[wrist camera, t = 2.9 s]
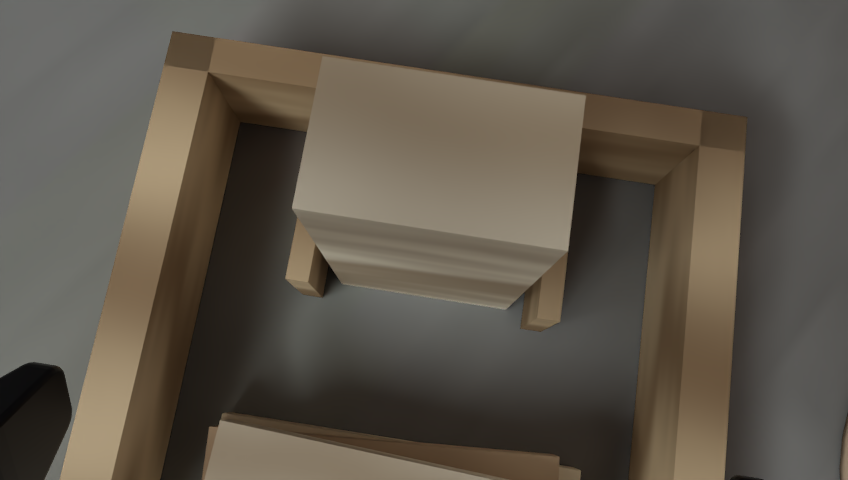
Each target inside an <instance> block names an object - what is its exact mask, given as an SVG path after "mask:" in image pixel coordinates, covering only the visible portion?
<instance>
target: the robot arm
mask: <svg viewBox="0 0 848 480" xmlns="http://www.w3.org/2000/svg"><path fill="white" fill-rule="evenodd" d="M71 416H72V407H71V402H70V397H69V393H68V388H67V384H66V379H65V375H64V372H63V370H62V369H61V368H60V367H58V366H55V365H49V364H43V363H36V362H31V363H27V364H24V365H22V366H20V367H19V368H17V369H15V370H13V371H12V372H10V373H8V374H6V375H4V376H3V377H1V378H0V480H44V479H45V477H46V475H47V473H48V471H49V468H50V466H51V464H52V462H53V460H54V457H55V455H56V453H57V451H58V449H59V447H60V444H61V442H62V440H63V438H64V436H65V433H66V431H67V429H68V427H69V424H70V421H71ZM730 480H763V479H759V478H753V477H747V476H740V475H736V476H734V477H732V478H731V479H730Z"/></svg>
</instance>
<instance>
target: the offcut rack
mask: <svg viewBox="0 0 848 480" xmlns="http://www.w3.org/2000/svg"><path fill="white" fill-rule="evenodd" d="M322 56H325V57H332V58H339V59H345V60H352V61H359V62H365V63H372V64H379V65H385V66H392V67H399V68H406V69H412V70H419V71H426V72H432V73H439V74H446V75H452V76H459V77H466V78H472V79H479V80H486V81H493V82H499V83H506V84H513V85H519V86H526V87H533V88H539V89H546V90H553V91H559V92H566V93H573V94H580V95H586V99H585V108H584V117H583V125H582V134H581V143H580V151H579V160H578V169H577V173H581V174H587V175H594V176H601V177H607V178H614V179H620V180H627V181H634V182H640V183H647V184H653V185H655V190H654V202H653V213H652V224H651V235H650V246H649V257H648V268H647V279H646V290H645V301H644V312H643V323H642V334H641V345H640V356H639V368H638V379H637V390H636V401H635V412H634V423H633V434H632V445H631V456H630V467H629V478H628V480H724V478H725V462H726V446H727V430H728V414H729V398H730V383H731V367H732V351H733V335H734V319H735V303H736V287H737V272H738V256H739V240H740V224H741V208H742V192H743V177H744V161H745V145H746V129H747V117H744V116H737V115H730V114H723V113H717V112H710V111H703V110H697V109H690V108H683V107H676V106H670V105H663V104H656V103H650V102H643V101H636V100H630V99H623V98H616V97H609V96H603V95H596V94H589V93H583V92H576V91H569V90H562V89H556V88H549V87H542V86H536V85H529V84H522V83H516V82H509V81H502V80H495V79H489V78H482V77H475V76H469V75H462V74H455V73H449V72H442V71H435V70H428V69H422V68H415V67H408V66H402V65H395V64H388V63H381V62H375V61H368V60H361V59H355V58H348V57H341V56H335V55H328V54H321V53H314V52H308V51H301V50H294V49H288V48H281V47H274V46H267V45H261V44H254V43H247V42H241V41H234V40H227V39H221V38H214V37H207V36H200V35H194V34H187V33H180V32H174V31H172V35H171V39H170V43H169V47H168V51H167V55H166V59H165V63H164V67H163V71H162V75H161V79H160V83H159V87H158V91H157V95H156V99H155V103H154V107H153V111H152V115H151V119H150V123H149V127H148V131H147V135H146V139H145V143H144V147H143V151H142V155H141V158H140V162H139V166H138V170H137V174H136V178H135V182H134V186H133V190H132V194H131V198H130V202H129V206H128V210H127V214H126V218H125V222H124V226H123V230H122V234H121V238H120V242H119V246H118V250H117V254H116V258H115V262H114V266H113V270H112V274H111V278H110V282H109V285H108V289H107V293H106V297H105V301H104V305H103V309H102V313H101V317H100V321H99V325H98V329H97V333H96V337H95V341H94V345H93V349H92V353H91V357H90V361H89V365H88V369H87V373H86V377H85V381H84V385H83V389H82V393H81V397H80V401H79V405H78V409H77V413H76V416H75V420H74V424H73V428H72V432H71V436H70V440H69V444H68V448H67V452H66V456H65V460H64V464H63V468H62V472H61V476H60V480H160V479H161V474H162V470H163V465H164V461H165V457H166V452H167V448H168V443H169V439H170V434H171V430H172V425H173V421H174V416H175V412H176V407H177V403H178V398H179V394H180V389H181V385H182V380H183V376H184V371H185V367H186V362H187V358H188V354H189V349H190V345H191V340H192V336H193V331H194V327H195V322H196V318H197V313H198V309H199V304H200V300H201V295H202V291H203V286H204V282H205V277H206V273H207V268H208V264H209V259H210V255H211V251H212V246H213V242H214V237H215V233H216V228H217V224H218V219H219V215H220V210H221V206H222V201H223V197H224V192H225V188H226V183H227V179H228V174H229V170H230V165H231V161H232V156H233V152H234V148H235V143H236V139H237V134H238V130H239V125H240V122H245V123H251V124H258V125H264V126H271V127H278V128H284V129H291V130H297V131H304V132H307V130H308V125H309V120H310V115H311V111H312V106H313V101H314V96H315V91H316V86H317V81H318V76H319V71H320V66H321V61H322ZM576 179H577V178H576ZM575 188H576V186H575ZM574 197H575V195H574ZM573 206H574V204H573ZM572 214H573V212H572ZM571 223H572V221H571ZM570 232H571V230H570ZM569 240H570V238H569ZM568 249H569V247H568ZM567 258H568V251H567V252H566V253H565V254H564V255H563V256H562V257H561V258H560V259H559V260H558V261H557V262H556V263H555V264H554V265H553V266H552V267H551V268H549V269H548V270H547V271H546V272H545V273H544V274H543V275H542V276H541V277H540V278H539V279H538V280H537V281H536V282H535V283H534V284H533V285H531V286H530V287H529V288H528V289H527V290H526V291H525V297H524V305H523V312H522V320H521V328H520V329H526V330H533V331H539V332H541V331H543V330H545V329H547V328H549V327H551V326H553V325H555V324H557V323H558V322H560V319H561V310H562V301H563V293H564V284H565V275H566V266H567ZM328 266H329V264H328V262H327V261H326V259H325V258H324V256H323V255H322V253H321V252H320V250H319V249H318V247H317V245H316V244H315V242H314V241H313V239H312V238H311V236H310V235H309V233H308V232H307V230H306V229H305V227H304V226H303V224H302V223H301V221H300V220H299V218H298V217H297V222H296V227H295V232H294V237H293V242H292V247H291V252H290V257H289V262H288V267H287V272H286V277H285V279H286V280H287V281H288V282H290V283H291V284H292V285H293V286H294V287H295V288H296V289H297V290H298V291H300V292H301V293H302V294H303V295H309V296H316V297H322V298H323V293H324V288H325V282H326V277H327V272H328ZM559 458H560V457H558V456H556V455H554V454H547V453H536V452H524V451H513V450H501V449H490V448H478V447H467V446H455V445H444V444H432V443H421V442H414V441H408V440H402V439H395V438H389V437H383V436H377V435H370V434H364V433H358V432H352V431H346V430H339V429H333V428H327V427H321V426H314V425H308V424H302V423H296V422H290V421H283V420H277V419H271V418H265V417H258V416H252V415H246V414H240V413H234V412H228V413H222V417H221V420H220V422H219V425H216V426H209V432H208V439H207V446H206V453H205V460H204V467H203V474H202V480H580V477H581V470H579V469H576V468H574V467H570V466H563V465H559Z"/></svg>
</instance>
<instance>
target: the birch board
mask: <svg viewBox="0 0 848 480" xmlns="http://www.w3.org/2000/svg"><path fill="white" fill-rule="evenodd" d="M585 99H586V95H580V94H573V93H566V92H559V91H553V90H546V89H539V88H533V87H526V86H519V85H513V84H506V83H499V82H493V81H486V80H479V79H472V78H466V77H459V76H452V75H446V74H439V73H432V72H426V71H419V70H412V69H406V68H399V67H392V66H385V65H379V64H372V63H365V62H359V61H352V60H345V59H339V58H332V57H325V56H322V61H321V66H320V71H319V76H318V81H317V86H316V91H315V96H314V101H313V106H312V111H311V115H310V120H309V125H308V130H307V135H306V140H305V145H304V150H303V155H302V160H301V165H300V170H299V175H298V180H297V185H296V190H295V195H294V200H293V205H292V209H293V211H294V212H295V214H296V215H297V217H298V218H299V220H300V221H301V223H302V224H303V226H304V227H305V229H306V230H307V232H308V233H309V235H310V236H311V238H312V239H313V241H314V242H315V244H316V245H317V247H318V249H319V250H320V252H321V253H322V255H323V256H324V258H325V259H326V261H327V262H328V264H329V265H330V267H331V268H332V270H333V271H334V273H335V274H336V276H337V277H338V279H339V280H340V282H341V283H342V284H345V285H351V286H358V287H364V288H371V289H377V290H383V291H390V292H396V293H402V294H409V295H415V296H422V297H428V298H434V299H441V300H447V301H454V302H460V303H466V304H473V305H479V306H486V307H492V308H498V309H505V310H506V309H507V308H508V307H509V306H510V305H511V304H512V303H513V302H515V301H516V300H517V299H518V298H519V297H520V296H521V295H522V294H523V293H524V292H525V291H526V290H527V289H528V288H529V287H530V286H531V285H533V284H534V283H535V282H536V281H537V280H538V279H539V278H540V277H541V276H542V275H543V274H544V273H545V272H546V271H547V270H548V269H549V268H551V267H552V266H553V265H554V264H555V263H556V262H557V261H558V260H559V259H560V258H561V257H562V256H563V255H564V254H565V253H566V252H567V251H568V247H569V238H570V230H571V221H572V212H573V204H574V195H575V186H576V178H577V169H578V160H579V151H580V143H581V134H582V125H583V117H584V108H585Z"/></svg>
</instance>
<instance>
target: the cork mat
mask: <svg viewBox="0 0 848 480" xmlns="http://www.w3.org/2000/svg"><path fill="white" fill-rule="evenodd" d="M840 480H848V415H847V419H846V424H845V428H844V433H843V437H842V448H841V459H840Z"/></svg>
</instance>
